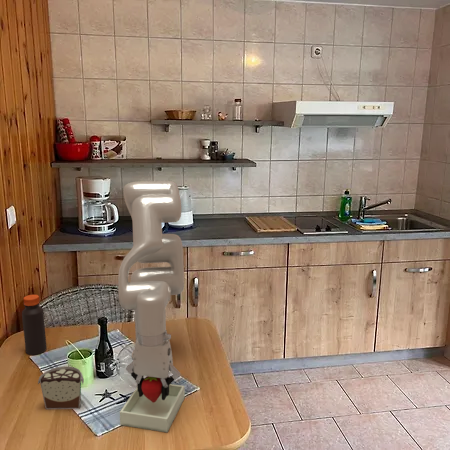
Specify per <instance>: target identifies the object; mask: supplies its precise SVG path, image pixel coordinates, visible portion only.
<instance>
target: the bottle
mask: <svg viewBox="0 0 450 450" xmlns="http://www.w3.org/2000/svg"><path fill="white" fill-rule="evenodd" d="M23 306H24V307H25V308H24V309H23V310H22V311H21V316H22V329H23V337H24V338H23V340H24V346H25V349H24V350H25V353H26V354H27V355H31V356H37V355H40V354H42V353H44V352H46V350H47V349H48V348H47V347H48V346H47V339H46V325H45V315H44V314H45V313H44V308H43V307H41V306H40V296H39V295H38V294H29V295H26V296H24V297H23Z"/></svg>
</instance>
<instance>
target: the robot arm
mask: <svg viewBox="0 0 450 450" xmlns="http://www.w3.org/2000/svg"><path fill="white" fill-rule="evenodd" d="M123 197H124V198H123V199H124V201H125V205H126V207H127V211H128V212H129V215H130V216H131V220H132V241H133V243H132V247H131V249H130V250H129V252H128V253H126V255H125V256H124V258H123V259H122V261H121V263H120V267H119V269H118V275H117V276H118V278H117V281H118V283H117V287H118V289H117V291H118V293H117V294H118V303H119V305H120V307H121V308H122V309H124V310H126V311H127V310H130V311H131V310H134V323H135V326H134V327H135V343H134V349H133V350H132V352H131V359H132V362H130V363H129V364H128V365H127V366H126V367H125V370H126V371H127V372H128V374H130V376H131V377H132V379H133V380H135V383H136V385H137V386H138V392H139V397H141V396H143V391H142V389H141V387H142V382H143V380H144V379H145V378H146V377H147V376H149V377H156V378H160V379H161V381H162V384H163V386H162V400H165V398H166V397H167V396H168V395H169V385H170V384H172V383H174V381H175V380H177V379H178V378H180V376H181V372H180V371H179V369H177V368H176V367H175V366H174V361H173V352H172V346H171V342H170V340H171V339H172V333H171V334H170V333H168V331H167V329H166V328H167V324H166V323H167V322H166V321H167V320H166V307H168V304H169V302H170V300H171V296H174V295H175V296H176V295H180V294H182V293H183V292H184V289H185V269H184V268H185V267H184V249H183V248H184V247H183V242H182V238H181V237H180V236H179V235H178V234H176V233H163V224H164V223H166V224H167V223H177V222H178V221H180V220H181V217H182V201H181V195H180V190H179V186H178V184H177V183H176V182H174V181H173V180H172V181H171V180H155V181H154V180H144V181H141V180H139V181H138V180H137V181H132V182H128V183H127V184H125V185H124V186H123ZM137 262H138V263H141V264H159V263H161V264H162V263H164V264H165V263H167V264H169V266H152V267H151V266H150V267H149V266H147V267H141V268H137V269H136V270H134V271H133V272H132V273H131V276H130V282H129V273H130V270H131V269H132V267H133V266H134V265H135V264H136V263H137ZM169 373H171V376H170V374H169ZM137 386H136V387H137Z"/></svg>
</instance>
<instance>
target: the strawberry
mask: <svg viewBox="0 0 450 450" xmlns="http://www.w3.org/2000/svg"><path fill="white" fill-rule="evenodd" d="M144 378H145V379H144V380H143V382H142V387H141V389H142V391H143V394H144V396H145V397H147V398H148V399H149V400H150V401H152V402H156V401H157V399H158V398H159V396H160V395H161V393H162V386H163V384H162V381H161V379H160V378H156V377H149V376H145V377H144Z"/></svg>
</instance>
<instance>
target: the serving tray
mask: <svg viewBox="0 0 450 450" xmlns="http://www.w3.org/2000/svg"><path fill="white" fill-rule="evenodd" d="M185 388H186V387H185V385H180V384H174V383H173V384H172V383H171V384H170V385H169V395H168V396H167V397H166V398H165V400H162V393H161V395H160V396H159V398H158V399H157V401H156V402H152V401H150V400H149V399H148V398H147V397H145V396H144V394H143V396H141V397H139V392H138V386H136V388H135V390H134V391H133V392H132V394H131V395H130V397H129V398H128V399H127V401H126V402H125V404H124V405H123V406H122V408H121V410H119V425H120V426H122V427H123V426H125V427H131V428H137V429H142V430H149V431H154V432H161V433H168V432H169V431H170V429H171V426H172V424H173V422H174V420H175V418H176V416H177V415H178V413H179V411H180V408H181V406H182V404H183V402H184V400H185V395H186V394H185V393H186V392H185V391H186V390H185Z"/></svg>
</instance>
